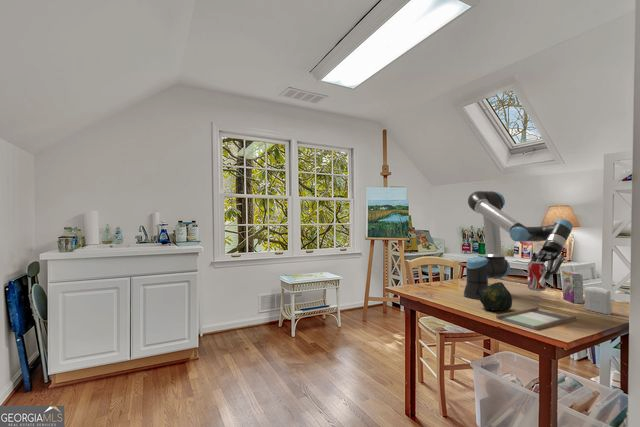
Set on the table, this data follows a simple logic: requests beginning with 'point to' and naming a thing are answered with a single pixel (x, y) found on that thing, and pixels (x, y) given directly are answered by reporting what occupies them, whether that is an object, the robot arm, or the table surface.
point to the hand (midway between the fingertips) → (535, 283)
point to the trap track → (534, 318)
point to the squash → (496, 297)
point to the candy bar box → (572, 287)
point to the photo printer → (598, 300)
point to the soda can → (536, 275)
